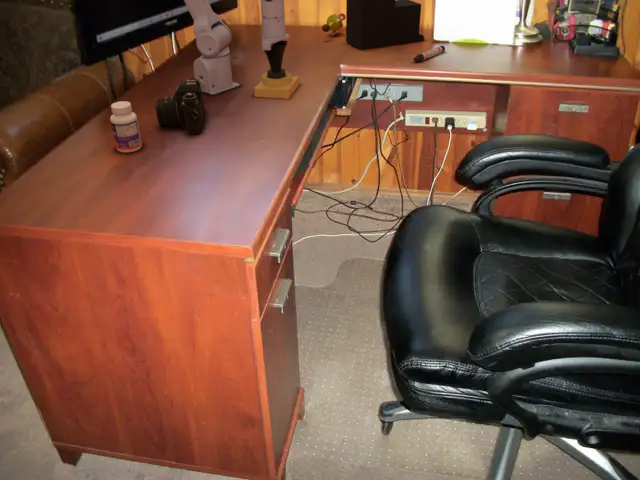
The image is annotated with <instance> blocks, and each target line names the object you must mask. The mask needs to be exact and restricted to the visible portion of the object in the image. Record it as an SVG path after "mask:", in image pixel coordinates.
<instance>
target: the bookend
mask: <svg viewBox="0 0 640 480" xmlns="http://www.w3.org/2000/svg"><path fill="white" fill-rule="evenodd" d="M345 7H346V9H345V10H346V11H345V13H346V14H345V16H346V18H345V24H346V26H345V42H346V43H347V44H350V45H352V46H354V47H355V48H358V49H359V50H366V49H372V48H380V47H386V46H394V45H400V44H401V45H402V44H407V43H414V42H420V41H425V37H424V34H421V33H420V29H421V28H420V27H421V13H422V3H419V2H417V1H413V0H346V5H345Z"/></svg>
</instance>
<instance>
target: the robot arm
mask: <svg viewBox="0 0 640 480" xmlns="http://www.w3.org/2000/svg"><path fill="white" fill-rule="evenodd" d="M183 1H184V3H185V5H186V8H187V10H188V12H189V14H190V15H191V18H192V20H193V26H192V32H193V34H194V36H195V44H196V48H197V49H198V51H199V52H200V54H201V55H200V56H199V57H198V58H196V59H195V60H194V61H193V68H192V69H193V76H194V78H195V79H197V80H199V83H200V87H201V92H202V93H206V94H209V95H212V96H214V95H217V94H220V93H223V92H225V91H229V90H232V89H235V88H238V87H240V86H241V84H240V83H237V82H234V81H233V72H232V63H231V52H230V51H231V50H230V48H229V45H230V44H231V42H232V38H233V37H232V32H231V29H230V28H229V27H228V26H227V25H226V24H225V23H224V22H223V20H222V18H221V16H220V15H218V14H217V13H216V12H214V11H213V9H212V6H211V4H210V2H209V0H183ZM285 11H286V10H285V0H260V13H261V29H262V34H261V40H262V41H261V50H262V51H263V52H264V53H265V55H266V57H267V60H268V64H269V67H270V69H271V71H272V72H280V71H281V69H282V67H283V60H284V54H285V51H286V48H287V45H288V39H290V38H291V34H290V33H287V27H286V13H285Z"/></svg>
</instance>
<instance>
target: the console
mask: <svg viewBox="0 0 640 480" xmlns="http://www.w3.org/2000/svg"><path fill="white" fill-rule="evenodd" d="M285 76H286V77H284V78H279V79H271V78H268V74H267V72H264V73H263V74H262V75H261V80H260V81H259V82H258V83H257V84H256V85H255V86H254V87H253V93H254V97H258V98H275V99H290V97H291V96H292V95H293V93H294V92H295V91H296V89H298V87H299V86H300V76H292V74H291V73H290V72H289V71H285Z"/></svg>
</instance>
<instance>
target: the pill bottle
mask: <svg viewBox="0 0 640 480" xmlns="http://www.w3.org/2000/svg"><path fill="white" fill-rule="evenodd" d="M110 108H111V109H110V110H111V113H112V114H111V115H110V125H111V130H112V135H113V139H114V145H115V147H116V150H117V151H118V152H120V153H134V152H136V151H139V150H140V149H141V148H142V147H143V141H142V137H141V136H142V135H141V132H140V125H139V122H138V121H139V120H138V117H137V114H136V113H135V112H134V111H133V108H132V104H131V102H130V101H125V100H123V101H121V100H120V101H116V102H113V103H112V104H110Z"/></svg>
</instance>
